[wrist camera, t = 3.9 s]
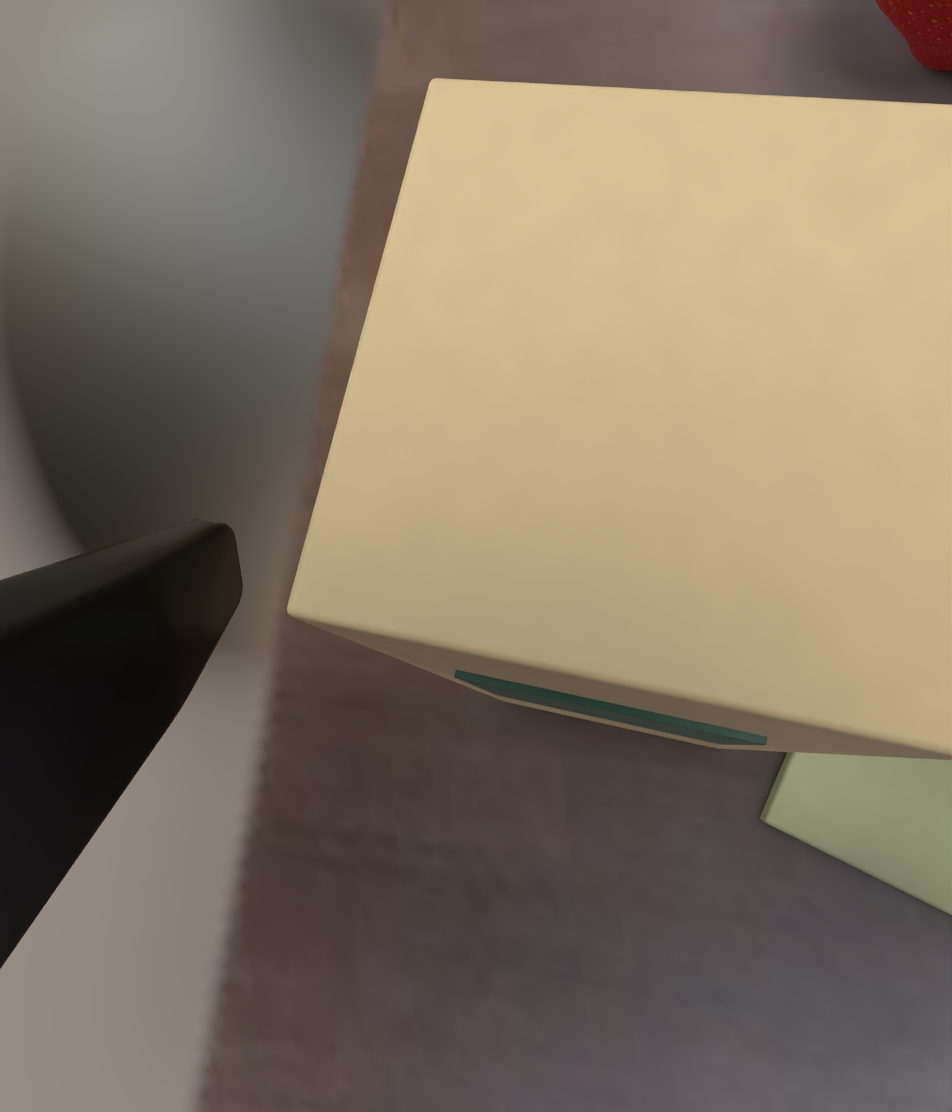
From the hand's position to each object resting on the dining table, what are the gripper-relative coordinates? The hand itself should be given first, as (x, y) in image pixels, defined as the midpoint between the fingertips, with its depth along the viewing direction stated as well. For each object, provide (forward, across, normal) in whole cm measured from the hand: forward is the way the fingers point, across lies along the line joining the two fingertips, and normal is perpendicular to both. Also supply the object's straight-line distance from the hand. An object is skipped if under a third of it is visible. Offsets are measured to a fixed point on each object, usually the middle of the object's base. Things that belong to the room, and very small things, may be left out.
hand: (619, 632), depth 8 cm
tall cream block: (+7, 0, +5) cm, 9 cm away
